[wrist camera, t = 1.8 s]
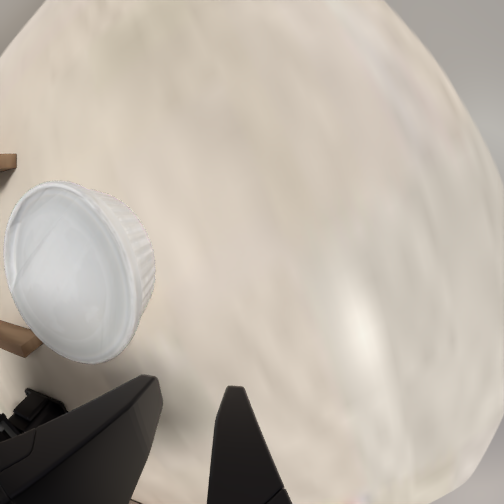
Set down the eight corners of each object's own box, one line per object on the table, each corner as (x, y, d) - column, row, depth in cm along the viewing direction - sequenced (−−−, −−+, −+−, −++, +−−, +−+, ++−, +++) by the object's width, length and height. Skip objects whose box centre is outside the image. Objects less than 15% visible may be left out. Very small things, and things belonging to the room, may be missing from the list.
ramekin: (61, 161, 18) (11, 162, 13) (192, 209, 18) (159, 221, 13) (42, 291, 21) (2, 315, 16) (151, 351, 21) (122, 392, 16)
